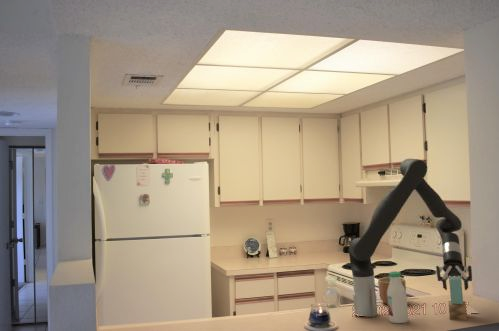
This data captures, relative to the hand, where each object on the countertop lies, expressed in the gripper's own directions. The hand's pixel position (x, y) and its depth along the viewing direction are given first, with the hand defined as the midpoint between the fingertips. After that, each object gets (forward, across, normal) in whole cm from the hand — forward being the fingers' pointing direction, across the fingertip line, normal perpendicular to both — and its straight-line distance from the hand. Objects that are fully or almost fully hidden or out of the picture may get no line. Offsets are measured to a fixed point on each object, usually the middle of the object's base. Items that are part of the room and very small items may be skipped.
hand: (455, 288), depth 200 cm
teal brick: (+3, 0, +5) cm, 6 cm away
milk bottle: (+12, -23, +5) cm, 27 cm away
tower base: (+7, 0, +10) cm, 12 cm away
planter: (-7, -27, +25) cm, 37 cm away
